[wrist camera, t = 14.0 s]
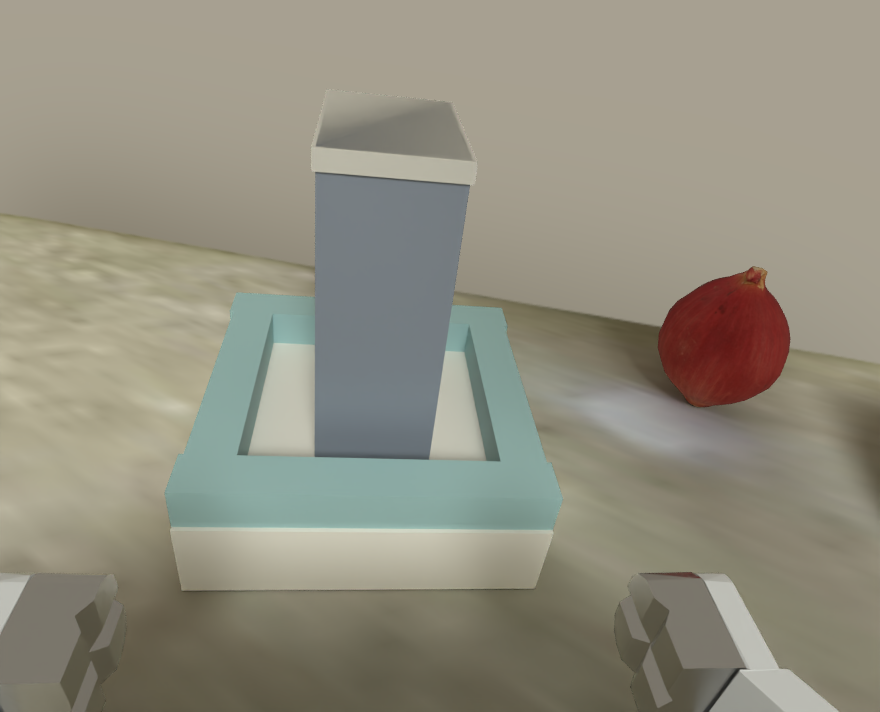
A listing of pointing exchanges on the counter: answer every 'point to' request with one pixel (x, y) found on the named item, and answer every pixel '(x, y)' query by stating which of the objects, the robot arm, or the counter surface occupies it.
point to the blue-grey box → (384, 268)
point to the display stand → (358, 472)
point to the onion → (725, 340)
